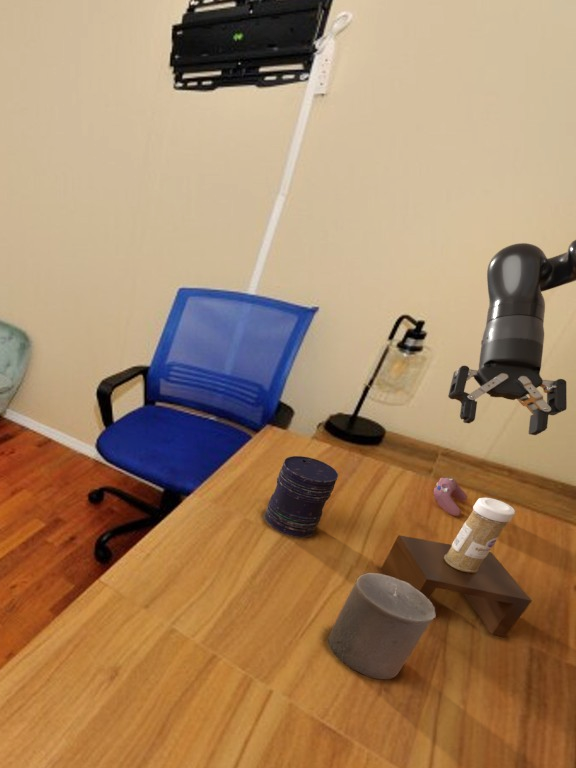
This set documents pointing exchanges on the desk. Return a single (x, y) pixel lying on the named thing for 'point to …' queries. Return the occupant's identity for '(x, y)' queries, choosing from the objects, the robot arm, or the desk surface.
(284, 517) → the navy ridged cylinder
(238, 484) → the desk surface
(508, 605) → the shelf
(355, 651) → the pillar candle
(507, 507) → the sprinkles bottle
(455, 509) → the video game controller
